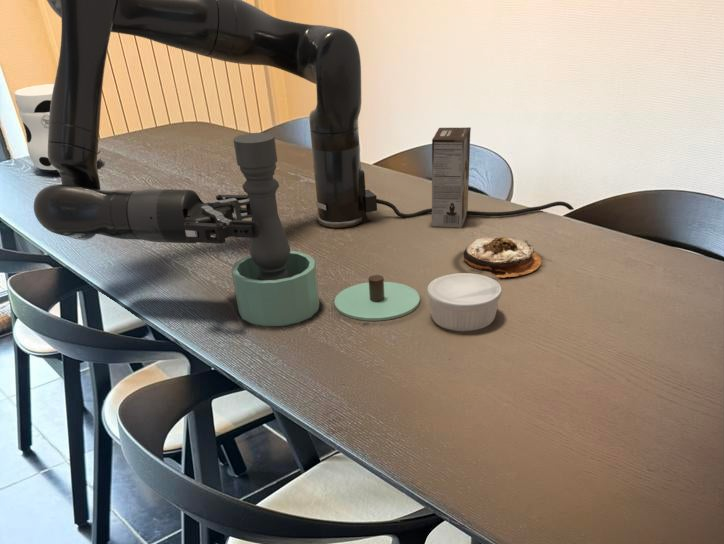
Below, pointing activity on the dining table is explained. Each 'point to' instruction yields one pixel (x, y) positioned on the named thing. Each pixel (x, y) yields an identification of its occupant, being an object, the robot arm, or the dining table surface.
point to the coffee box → (450, 176)
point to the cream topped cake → (502, 256)
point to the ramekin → (464, 301)
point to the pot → (277, 292)
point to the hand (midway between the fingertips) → (267, 219)
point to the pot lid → (377, 300)
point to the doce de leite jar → (38, 123)
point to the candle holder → (263, 203)
